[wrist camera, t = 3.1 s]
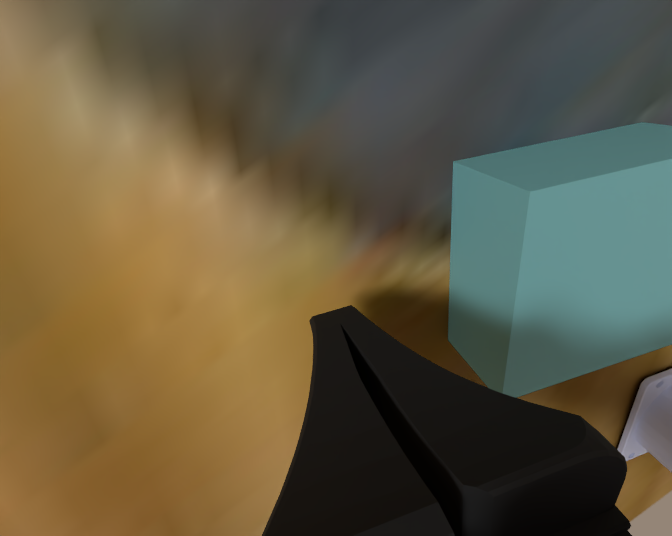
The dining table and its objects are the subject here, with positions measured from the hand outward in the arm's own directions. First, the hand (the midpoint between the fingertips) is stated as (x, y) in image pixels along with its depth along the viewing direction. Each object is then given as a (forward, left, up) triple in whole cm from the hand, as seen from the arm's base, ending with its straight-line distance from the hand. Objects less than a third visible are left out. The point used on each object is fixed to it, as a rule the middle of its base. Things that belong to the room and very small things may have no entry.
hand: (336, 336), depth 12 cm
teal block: (-9, 0, -3) cm, 10 cm away
